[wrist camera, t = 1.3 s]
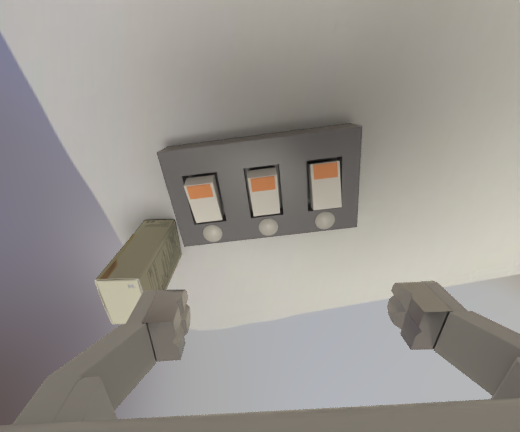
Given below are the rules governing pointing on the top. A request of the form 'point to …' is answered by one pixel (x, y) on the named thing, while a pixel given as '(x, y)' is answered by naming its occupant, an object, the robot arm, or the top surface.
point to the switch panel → (288, 175)
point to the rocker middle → (264, 191)
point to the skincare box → (139, 268)
